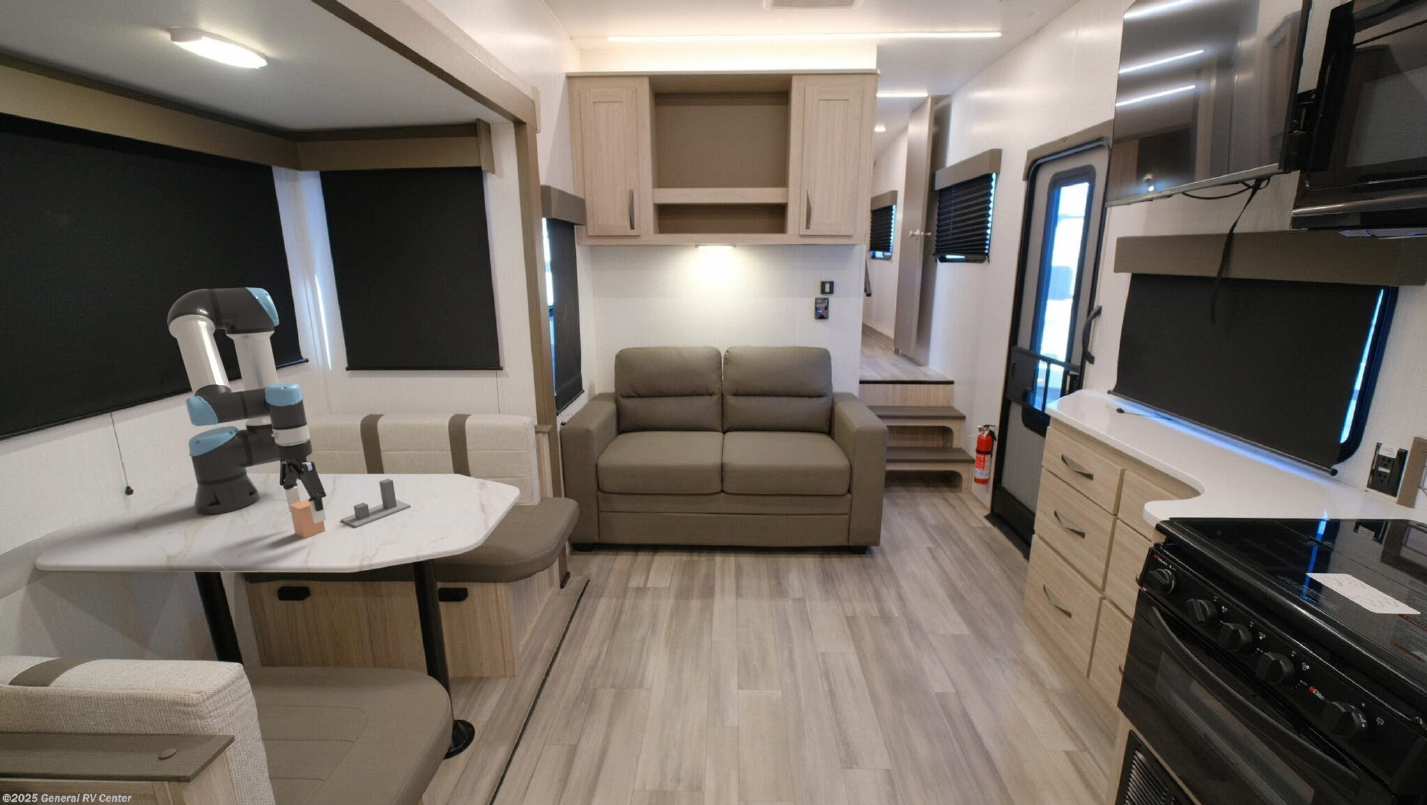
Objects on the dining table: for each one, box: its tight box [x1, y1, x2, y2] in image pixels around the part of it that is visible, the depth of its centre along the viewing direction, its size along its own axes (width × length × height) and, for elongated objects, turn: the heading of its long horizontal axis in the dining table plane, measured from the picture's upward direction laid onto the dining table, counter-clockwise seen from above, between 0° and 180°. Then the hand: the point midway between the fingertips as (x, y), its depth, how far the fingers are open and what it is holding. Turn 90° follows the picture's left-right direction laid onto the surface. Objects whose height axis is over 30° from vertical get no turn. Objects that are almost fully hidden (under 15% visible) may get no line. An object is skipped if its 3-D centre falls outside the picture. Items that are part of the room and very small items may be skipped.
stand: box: [340, 478, 412, 528], centre depth 167 cm, size 8×16×9 cm, turn 149°
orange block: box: [290, 498, 326, 539], centre depth 156 cm, size 5×5×9 cm
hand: (307, 515), depth 155 cm, fingers open, 13 cm apart
